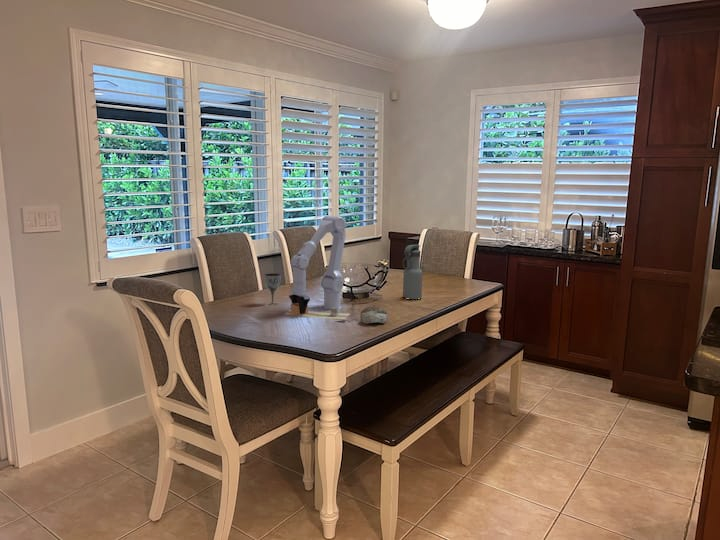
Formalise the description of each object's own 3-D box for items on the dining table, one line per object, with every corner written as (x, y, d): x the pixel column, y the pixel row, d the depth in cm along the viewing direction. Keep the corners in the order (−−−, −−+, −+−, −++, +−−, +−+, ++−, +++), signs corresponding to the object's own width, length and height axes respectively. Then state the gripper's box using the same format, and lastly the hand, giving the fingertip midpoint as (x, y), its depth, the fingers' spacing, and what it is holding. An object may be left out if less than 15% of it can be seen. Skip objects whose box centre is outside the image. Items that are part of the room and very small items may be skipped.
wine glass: (261, 304, 262) (260, 274, 259) (274, 302, 267) (273, 272, 265) (271, 307, 256) (271, 276, 254) (284, 305, 262) (284, 274, 260)
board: (290, 311, 249) (290, 301, 248) (350, 316, 243) (350, 305, 242) (282, 318, 237) (282, 307, 236) (344, 322, 232) (344, 311, 231)
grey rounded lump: (375, 321, 223) (368, 299, 227) (359, 330, 228) (352, 308, 232) (395, 321, 235) (388, 300, 238) (379, 329, 240) (372, 308, 243)
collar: (290, 312, 242) (290, 304, 242) (302, 311, 245) (302, 302, 245) (296, 315, 238) (296, 306, 237) (307, 313, 241) (307, 305, 240)
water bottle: (411, 301, 275) (413, 246, 271) (398, 298, 283) (399, 244, 278) (425, 298, 282) (427, 245, 277) (411, 295, 289) (413, 243, 285)
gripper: (284, 280, 243) (284, 309, 245) (298, 285, 231) (298, 316, 233) (298, 278, 247) (298, 307, 249) (313, 284, 235) (313, 314, 237)
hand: (299, 311), depth 241 cm, fingers closed on collar, 6 cm apart
